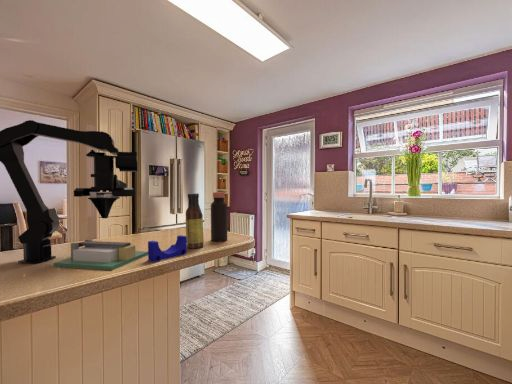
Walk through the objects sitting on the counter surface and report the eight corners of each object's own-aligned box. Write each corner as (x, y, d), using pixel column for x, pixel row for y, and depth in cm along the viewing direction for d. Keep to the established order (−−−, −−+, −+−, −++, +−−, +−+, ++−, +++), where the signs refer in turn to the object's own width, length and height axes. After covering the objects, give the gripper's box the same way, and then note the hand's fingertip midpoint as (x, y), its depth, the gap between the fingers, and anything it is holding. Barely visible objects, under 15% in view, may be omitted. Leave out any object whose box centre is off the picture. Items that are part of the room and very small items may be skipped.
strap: (76, 247, 78) (75, 242, 78) (84, 245, 81) (84, 240, 81) (123, 249, 74) (123, 244, 74) (130, 247, 77) (130, 242, 77)
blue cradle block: (178, 252, 88) (178, 234, 87) (186, 254, 85) (186, 236, 85) (145, 260, 78) (145, 240, 78) (153, 262, 75) (153, 242, 75)
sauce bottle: (207, 246, 95) (206, 193, 95) (194, 249, 90) (194, 193, 90) (194, 244, 99) (194, 193, 98) (182, 247, 93) (181, 193, 93)
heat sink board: (53, 266, 72) (52, 247, 71) (98, 252, 87) (98, 236, 87) (111, 270, 68) (111, 249, 68) (148, 254, 84) (147, 238, 83)
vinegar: (230, 239, 107) (230, 192, 107) (220, 242, 101) (220, 192, 101) (218, 237, 111) (217, 192, 110) (207, 240, 105) (207, 192, 105)
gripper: (144, 172, 90) (145, 216, 90) (99, 173, 94) (99, 215, 94) (122, 170, 79) (123, 220, 79) (71, 171, 83) (72, 219, 83)
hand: (104, 218), depth 84 cm, fingers closed
